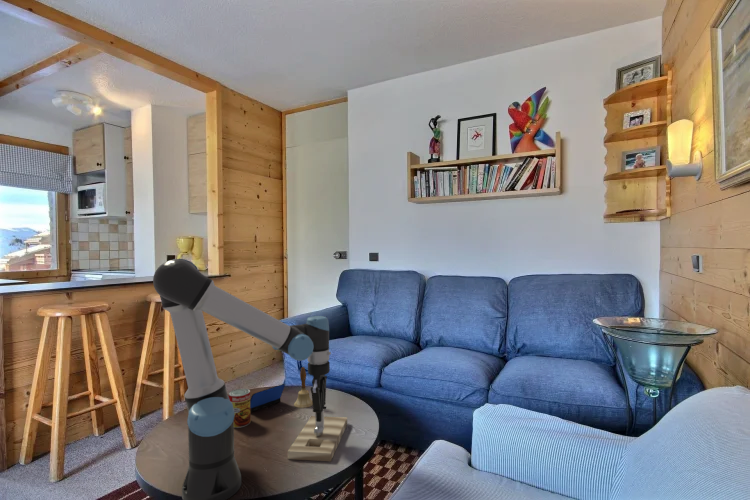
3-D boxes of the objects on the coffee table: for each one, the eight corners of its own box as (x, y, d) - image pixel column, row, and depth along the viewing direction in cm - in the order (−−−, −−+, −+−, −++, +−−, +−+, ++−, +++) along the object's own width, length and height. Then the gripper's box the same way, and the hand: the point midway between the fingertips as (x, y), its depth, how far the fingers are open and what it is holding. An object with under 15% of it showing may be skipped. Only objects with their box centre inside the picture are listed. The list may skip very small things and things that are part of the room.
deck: (330, 461, 120) (330, 453, 120) (287, 459, 121) (287, 451, 121) (347, 424, 145) (347, 417, 145) (311, 422, 147) (311, 416, 147)
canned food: (235, 429, 142) (235, 397, 142) (225, 423, 147) (224, 392, 147) (254, 422, 148) (254, 391, 148) (243, 417, 153) (243, 386, 153)
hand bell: (314, 406, 162) (313, 369, 162) (294, 409, 160) (293, 371, 160) (312, 399, 170) (311, 363, 170) (293, 401, 168) (292, 365, 168)
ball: (321, 433, 129) (323, 424, 131) (311, 433, 129) (314, 424, 132) (322, 438, 131) (324, 429, 133) (313, 438, 131) (315, 428, 134)
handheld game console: (269, 397, 175) (269, 376, 175) (286, 405, 165) (285, 383, 165) (237, 407, 163) (236, 385, 163) (252, 416, 154) (252, 393, 154)
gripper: (324, 367, 126) (325, 438, 127) (333, 356, 139) (334, 421, 139) (302, 367, 127) (303, 437, 127) (313, 356, 140) (314, 420, 140)
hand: (319, 429), depth 133 cm, fingers closed
